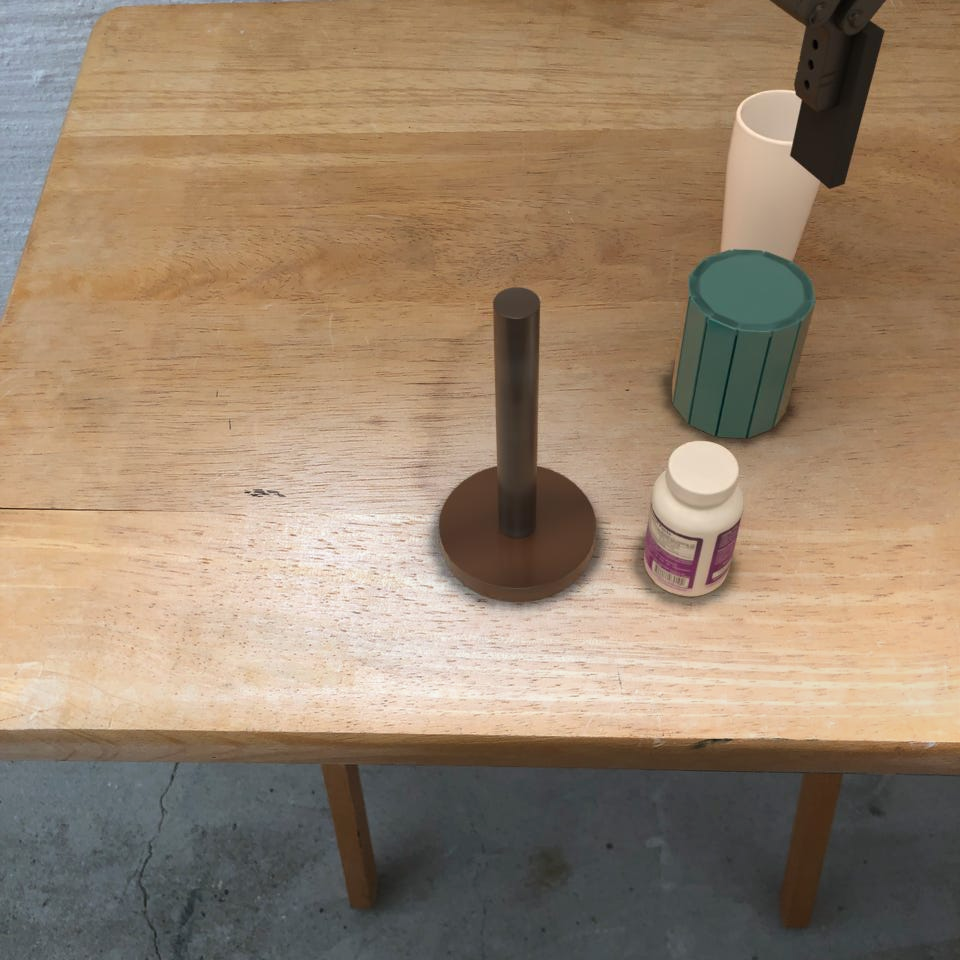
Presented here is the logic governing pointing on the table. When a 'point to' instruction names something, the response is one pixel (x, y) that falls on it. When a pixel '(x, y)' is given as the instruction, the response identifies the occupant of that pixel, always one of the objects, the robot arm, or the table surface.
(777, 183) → the drinking glass
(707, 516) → the pill bottle
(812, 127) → the robot arm
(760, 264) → the teal fluted cylinder
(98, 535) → the table surface
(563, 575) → the towel holder
